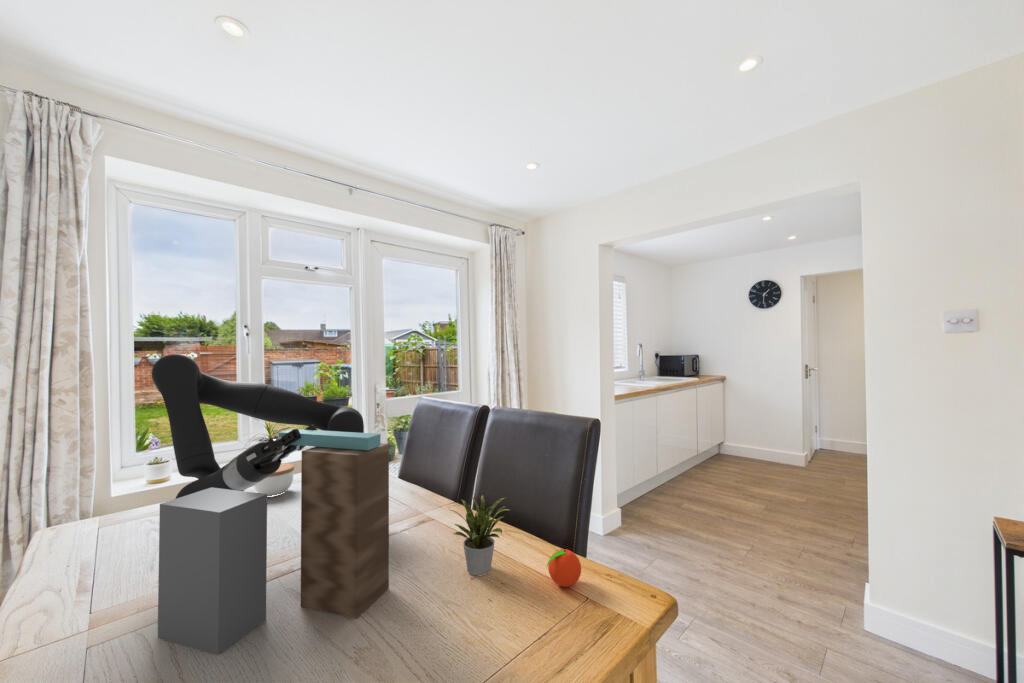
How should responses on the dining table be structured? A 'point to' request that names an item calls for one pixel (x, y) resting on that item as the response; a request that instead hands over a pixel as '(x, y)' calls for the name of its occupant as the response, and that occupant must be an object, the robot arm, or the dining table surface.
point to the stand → (344, 528)
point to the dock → (212, 568)
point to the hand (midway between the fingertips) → (306, 430)
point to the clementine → (564, 567)
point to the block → (336, 439)
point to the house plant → (479, 537)
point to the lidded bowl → (277, 481)
